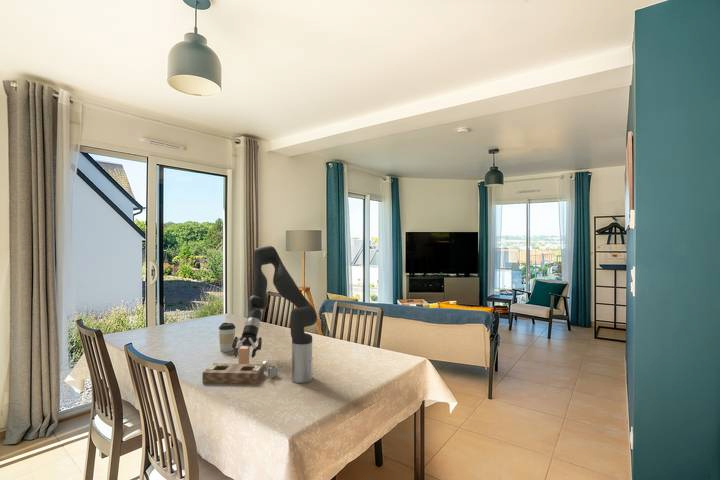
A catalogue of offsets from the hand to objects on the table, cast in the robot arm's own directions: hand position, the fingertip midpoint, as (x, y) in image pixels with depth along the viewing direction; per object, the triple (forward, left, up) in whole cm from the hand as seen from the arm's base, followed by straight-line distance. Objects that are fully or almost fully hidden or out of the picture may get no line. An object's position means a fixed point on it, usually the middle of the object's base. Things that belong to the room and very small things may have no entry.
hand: (243, 356), depth 182 cm
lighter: (-16, +12, -6) cm, 21 cm away
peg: (0, 0, -5) cm, 5 cm away
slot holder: (0, +14, -5) cm, 15 cm away
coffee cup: (+19, -28, -6) cm, 35 cm away
